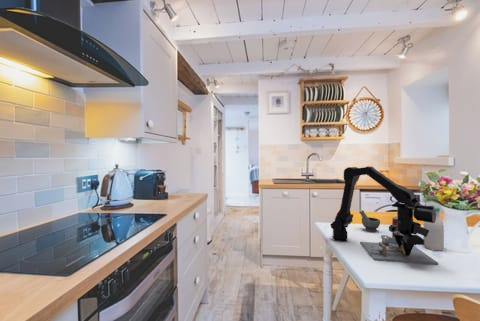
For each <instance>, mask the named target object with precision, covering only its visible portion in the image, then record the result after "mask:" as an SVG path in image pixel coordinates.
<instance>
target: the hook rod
mask: <svg viewBox="0 0 480 321" xmlns="http://www.w3.org/2000/svg"><path fill="white" fill-rule="evenodd" d="M373 250H374V251H383V247H382V246H372V248H370V253H373ZM386 251H389V252H401V254H402V255H406V254H405V251H404V248H403V245H401V246H400V247H386Z"/></svg>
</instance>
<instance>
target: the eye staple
mask: <svg viewBox="0 0 480 321" xmlns="http://www.w3.org/2000/svg"><path fill="white" fill-rule="evenodd" d="M378 243H379V246H382V247H383V257H386V246H385V245H384V244H383V243H382V241H379V242H378ZM379 253H382V251H379Z"/></svg>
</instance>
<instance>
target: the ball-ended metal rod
mask: <svg viewBox="0 0 480 321" xmlns="http://www.w3.org/2000/svg"><path fill="white" fill-rule="evenodd" d="M380 238H381V242H382V243H383V244H384V245H389V244H394V245H398V244H397V242H396V240H395V238H393V237H392V236H389V235H386V234H381V235H380Z"/></svg>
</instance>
